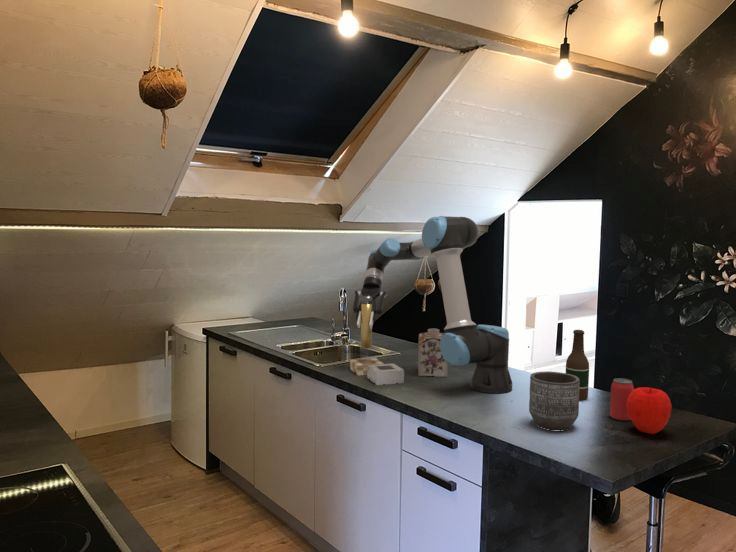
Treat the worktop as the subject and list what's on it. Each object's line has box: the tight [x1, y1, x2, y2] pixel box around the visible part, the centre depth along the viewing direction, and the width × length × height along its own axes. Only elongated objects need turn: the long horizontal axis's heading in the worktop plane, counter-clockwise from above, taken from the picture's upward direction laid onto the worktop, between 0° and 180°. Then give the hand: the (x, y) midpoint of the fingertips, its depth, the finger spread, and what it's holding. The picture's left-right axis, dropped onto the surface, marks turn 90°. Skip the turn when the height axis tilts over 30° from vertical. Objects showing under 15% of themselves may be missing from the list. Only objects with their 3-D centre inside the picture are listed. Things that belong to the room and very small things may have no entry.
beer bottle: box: [565, 329, 590, 402], centre depth 207 cm, size 8×8×24 cm
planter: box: [528, 371, 580, 432], centre depth 178 cm, size 14×14×15 cm
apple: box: [626, 386, 672, 435], centre depth 173 cm, size 12×12×13 cm
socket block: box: [366, 363, 405, 386], centre depth 229 cm, size 11×11×5 cm
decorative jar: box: [417, 328, 449, 378], centre depth 240 cm, size 12×12×18 cm
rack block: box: [349, 357, 385, 376], centre depth 243 cm, size 11×11×4 cm
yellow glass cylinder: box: [360, 294, 373, 349], centre depth 242 cm, size 4×4×21 cm
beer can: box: [609, 377, 635, 422], centre depth 186 cm, size 7×7×12 cm
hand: (364, 326), depth 238 cm, fingers closed on yellow glass cylinder, 4 cm apart
